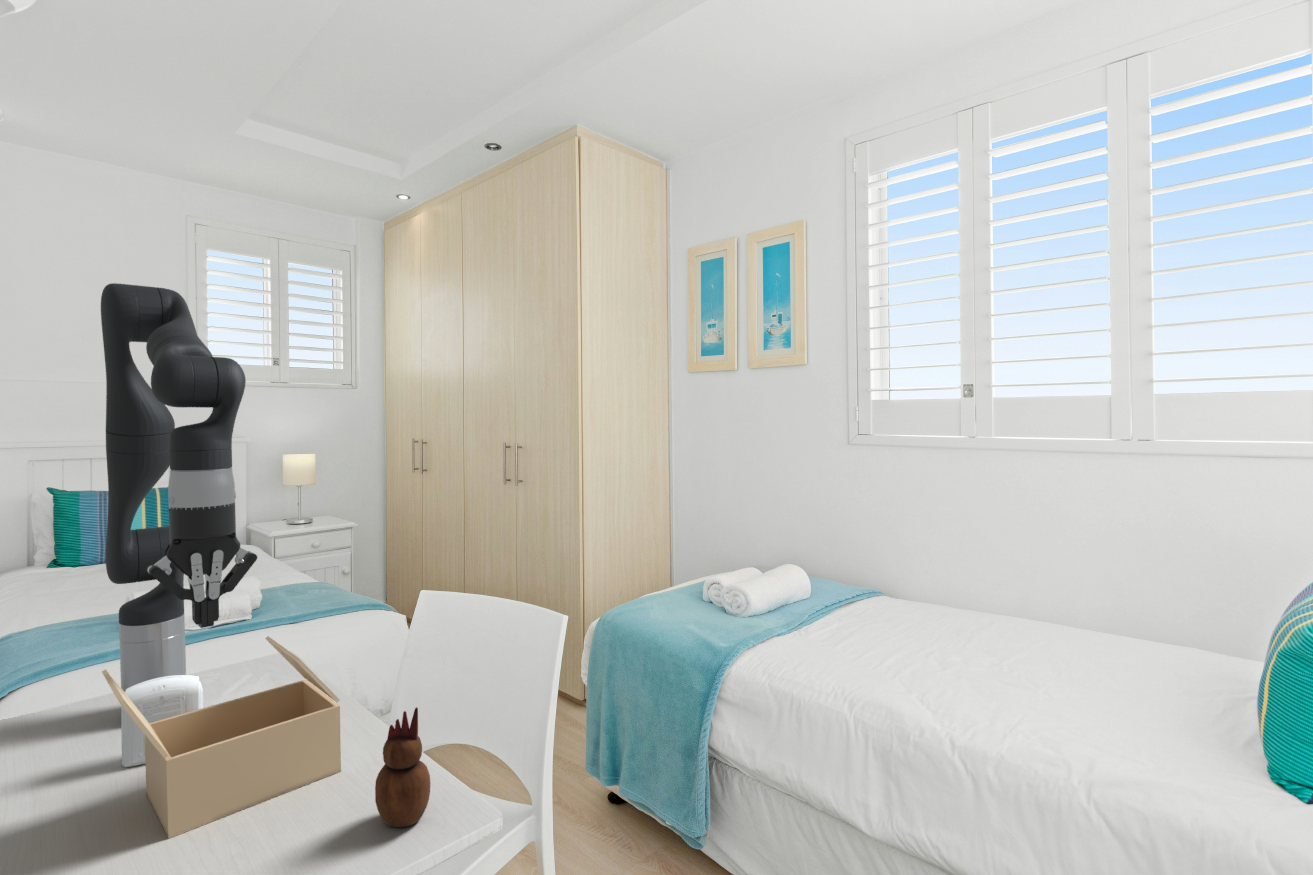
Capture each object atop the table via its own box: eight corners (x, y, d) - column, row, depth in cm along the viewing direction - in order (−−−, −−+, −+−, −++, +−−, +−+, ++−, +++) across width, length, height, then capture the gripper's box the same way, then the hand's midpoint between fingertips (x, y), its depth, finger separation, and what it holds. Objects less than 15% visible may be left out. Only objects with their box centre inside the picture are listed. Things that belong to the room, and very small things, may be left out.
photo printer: (204, 740, 106) (202, 666, 106) (203, 752, 103) (201, 675, 102) (124, 759, 101) (121, 680, 100) (120, 771, 97) (117, 690, 97)
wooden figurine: (439, 811, 87) (437, 702, 87) (409, 838, 82) (408, 721, 81) (398, 802, 90) (396, 695, 89) (366, 827, 84) (365, 713, 84)
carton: (146, 794, 91) (144, 724, 91) (306, 739, 107) (305, 679, 106) (168, 838, 82) (166, 760, 81) (341, 771, 97) (339, 705, 97)
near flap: (147, 720, 91) (143, 723, 91) (105, 668, 88) (101, 671, 87) (168, 755, 82) (164, 758, 81) (123, 699, 78) (118, 702, 78)
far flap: (265, 638, 102) (267, 635, 102) (303, 677, 106) (306, 674, 106) (296, 660, 92) (299, 658, 93) (337, 702, 97) (340, 699, 97)
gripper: (249, 494, 97) (252, 609, 97) (137, 503, 87) (140, 630, 88) (265, 499, 91) (267, 620, 92) (147, 509, 82) (151, 644, 83)
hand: (205, 625), depth 90 cm, fingers closed
